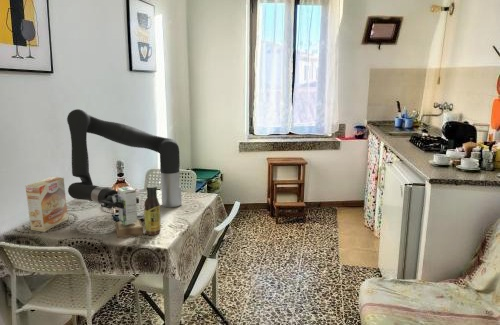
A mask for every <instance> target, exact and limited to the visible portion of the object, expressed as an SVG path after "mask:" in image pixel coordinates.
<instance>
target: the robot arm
mask: <svg viewBox="0 0 500 325" xmlns="http://www.w3.org/2000/svg"><path fill="white" fill-rule="evenodd" d="M66 117H67V118H66V122H67V124H68V129H69V132H70V140H71V175H72V176H73V177H75V178H79V179H80V182H79V181H77V182H73V183H71V184H69V186H68V188H67V193H68V195H69V196H70V197H71V198H72V199H75V200H83V201H90V202H94V203H96V204H98V205H100V207H102V208H105V209H109V210H111V209H113V208H114V209H117V208H118V209H119V208H121V209H123V208H124V204H123V203H121V202H118V190H115V189H113V188H109V187H104V186H100V185H99V186H98V185H94V183H93V180H92V178H91V175H90V170H89V169H90V164H89V163H90V161H89V152H88V151H89V150H88V144H87V135H88V134H91V135H92V134H93V135H97V136H100V137H102V138H105V139H107V140H109V141H111V142H114V143H117V144H120V145H124V146H126V147H131V148H137V149H138V148H140V149H146V150H150V151H153V152H156V153H158V154H159V165H160V166H159V168H160V188H161V191H160V192H161V206H162V207H163V208H176V207H179V206H182V205H183V204H182V203H183V202H182V186H181V178H180V176H181V175H180V174H181V173H180V168H181V167H180V166H181V165H180V164H181V163H180V162H181V160H180V148H179V144H178V143H177V142H176V140H174V139H172V138H168V137H162V136H159V135H155V134H151V133H149V132H146V131H143V130H142V129H139V128H136V127H133V126H130V125H126V124H123V123H120V122H114V121H107V120H103V119H99V118H98V117H94V116H93V115H90V114H88V113H87V111H84V110H82V109H78V108H77V109H73V110H71V111H70V112H68V115H67V116H66ZM87 133H88V134H87ZM139 203H140V198H138V197H136V204H139Z"/></svg>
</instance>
